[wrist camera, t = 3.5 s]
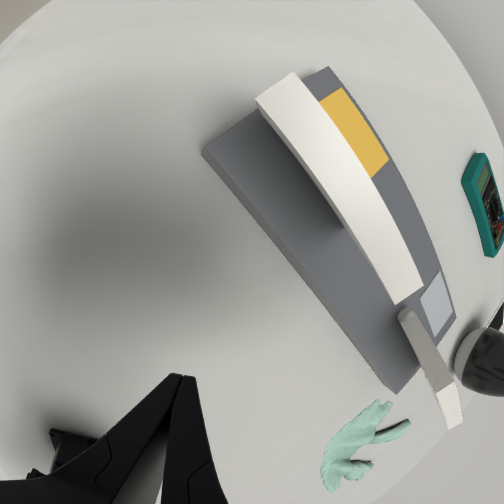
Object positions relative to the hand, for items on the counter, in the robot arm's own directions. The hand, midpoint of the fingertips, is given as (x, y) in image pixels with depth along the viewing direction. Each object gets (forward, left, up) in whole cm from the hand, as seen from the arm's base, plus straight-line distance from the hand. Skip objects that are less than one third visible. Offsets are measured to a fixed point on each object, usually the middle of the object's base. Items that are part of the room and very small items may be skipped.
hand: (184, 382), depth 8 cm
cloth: (-24, -28, -13) cm, 39 cm away
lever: (-3, -23, -9) cm, 25 cm away
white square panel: (+10, -8, -9) cm, 15 cm away
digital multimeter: (+14, -39, -12) cm, 43 cm away
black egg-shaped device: (-8, -44, -12) cm, 46 cm away
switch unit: (+4, -16, -12) cm, 20 cm away
